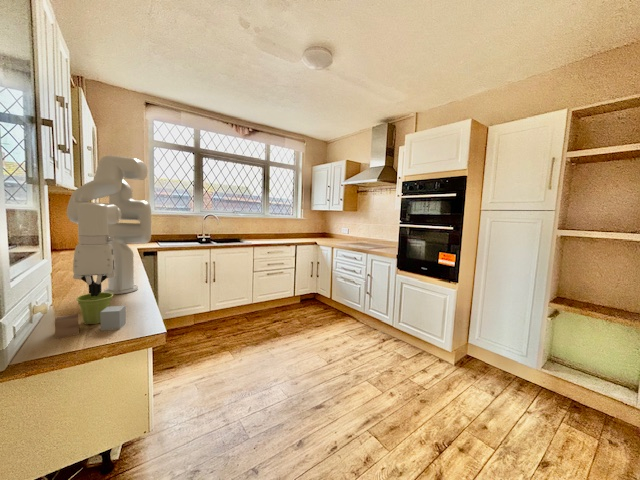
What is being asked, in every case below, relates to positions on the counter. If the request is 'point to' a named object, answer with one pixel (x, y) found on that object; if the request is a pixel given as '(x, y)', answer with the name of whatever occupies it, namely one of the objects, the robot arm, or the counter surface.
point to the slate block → (113, 317)
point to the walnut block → (66, 326)
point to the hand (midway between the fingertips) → (95, 295)
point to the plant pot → (93, 306)
